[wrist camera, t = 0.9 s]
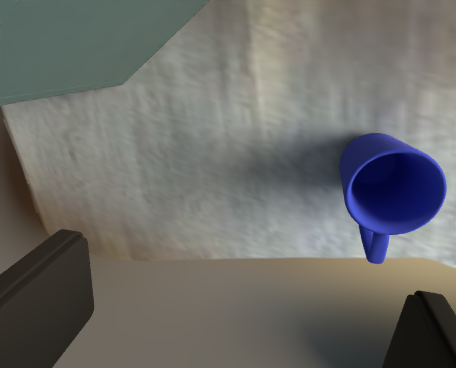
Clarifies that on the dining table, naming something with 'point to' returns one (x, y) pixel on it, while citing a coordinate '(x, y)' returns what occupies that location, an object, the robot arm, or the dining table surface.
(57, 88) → the cabinet
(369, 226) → the mug
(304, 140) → the dining table surface
